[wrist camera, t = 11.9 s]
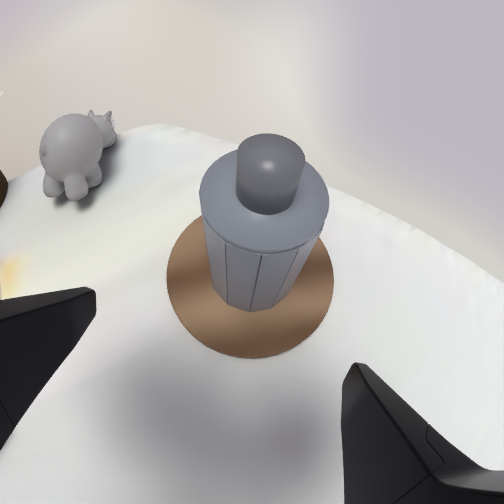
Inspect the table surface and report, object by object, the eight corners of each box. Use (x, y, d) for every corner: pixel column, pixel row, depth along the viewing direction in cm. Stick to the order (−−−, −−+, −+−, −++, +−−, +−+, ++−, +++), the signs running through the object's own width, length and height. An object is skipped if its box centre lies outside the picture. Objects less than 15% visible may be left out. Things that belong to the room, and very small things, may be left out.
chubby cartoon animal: (138, 161, 33) (139, 97, 28) (79, 211, 24) (68, 129, 19) (95, 154, 33) (93, 95, 28) (35, 199, 24) (22, 127, 19)
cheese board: (348, 331, 24) (368, 318, 20) (191, 378, 21) (182, 376, 18) (295, 203, 30) (303, 175, 26) (160, 232, 27) (150, 206, 23)
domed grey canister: (307, 276, 24) (370, 169, 12) (248, 328, 22) (268, 250, 10) (255, 223, 26) (272, 99, 14) (195, 267, 24) (166, 149, 12)
